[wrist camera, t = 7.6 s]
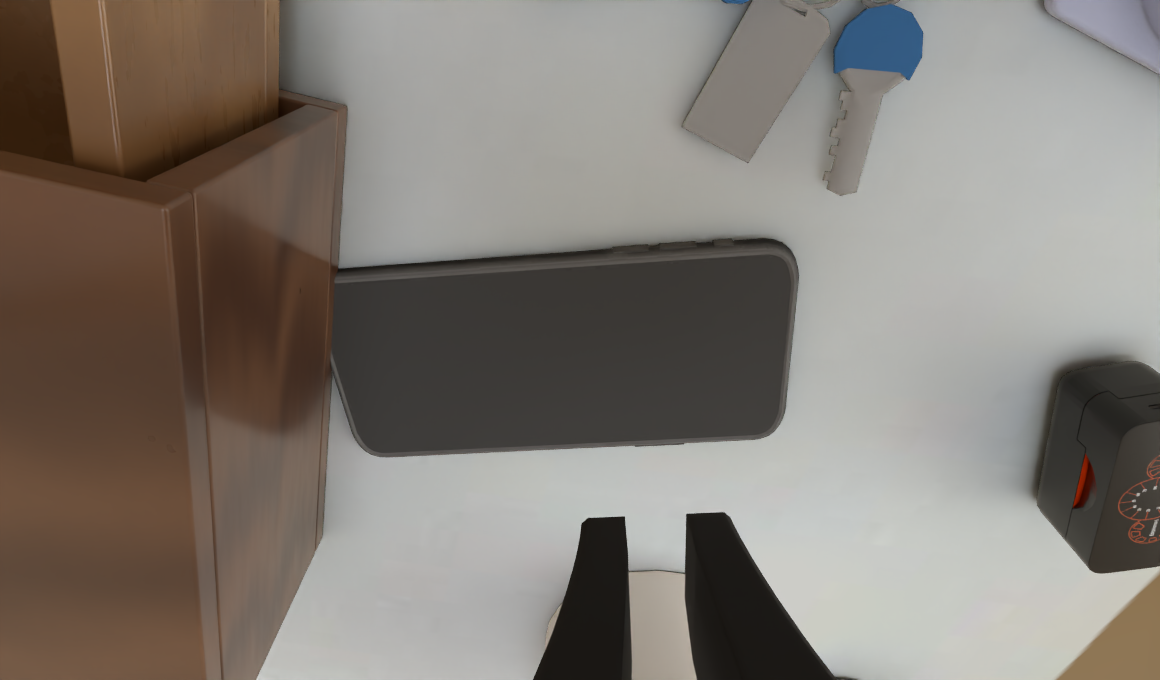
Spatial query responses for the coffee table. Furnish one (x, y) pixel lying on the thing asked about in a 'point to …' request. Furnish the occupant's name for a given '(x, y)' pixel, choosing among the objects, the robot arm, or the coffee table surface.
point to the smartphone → (567, 348)
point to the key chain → (779, 61)
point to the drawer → (134, 80)
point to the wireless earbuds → (1105, 466)
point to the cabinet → (165, 402)
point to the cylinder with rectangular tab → (656, 627)
